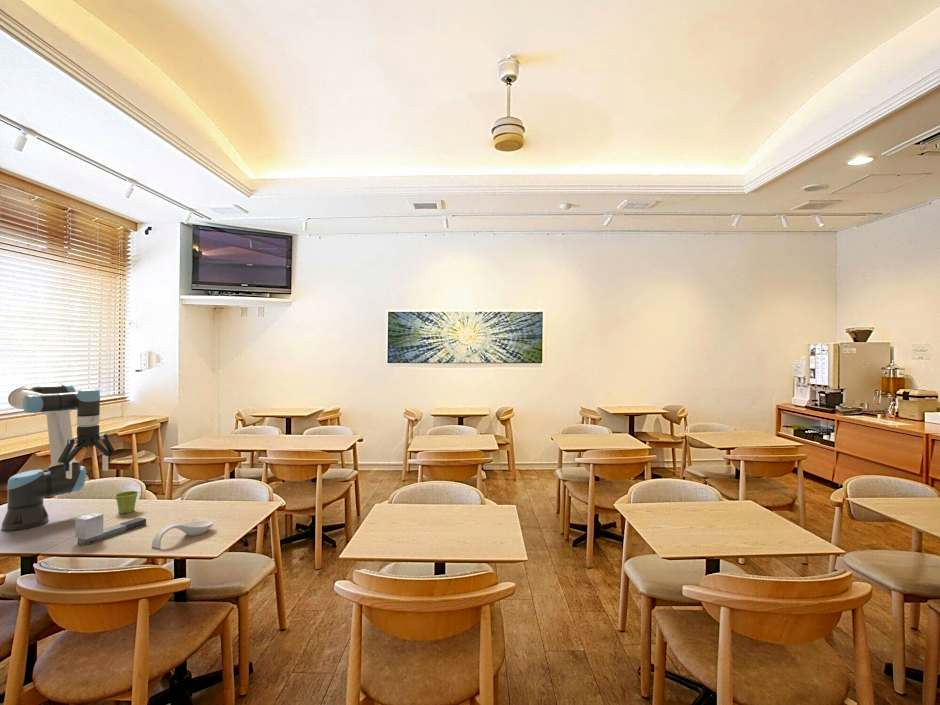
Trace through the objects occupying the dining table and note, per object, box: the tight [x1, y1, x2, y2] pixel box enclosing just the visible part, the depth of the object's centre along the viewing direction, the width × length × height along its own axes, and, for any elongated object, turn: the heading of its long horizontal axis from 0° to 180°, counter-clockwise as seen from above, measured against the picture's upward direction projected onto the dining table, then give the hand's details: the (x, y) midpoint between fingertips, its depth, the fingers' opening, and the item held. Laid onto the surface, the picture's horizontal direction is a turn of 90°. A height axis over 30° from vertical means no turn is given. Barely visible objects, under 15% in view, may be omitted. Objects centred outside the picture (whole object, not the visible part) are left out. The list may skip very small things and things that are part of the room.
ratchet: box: [77, 516, 147, 546], centre depth 196 cm, size 24×5×6 cm, turn 158°
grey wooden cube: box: [74, 512, 104, 540], centre depth 188 cm, size 6×6×8 cm
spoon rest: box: [151, 520, 214, 550], centre depth 192 cm, size 24×12×7 cm, turn 157°
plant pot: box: [114, 490, 139, 514], centre depth 223 cm, size 9×9×9 cm
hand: (87, 474), depth 198 cm, fingers open, 13 cm apart
